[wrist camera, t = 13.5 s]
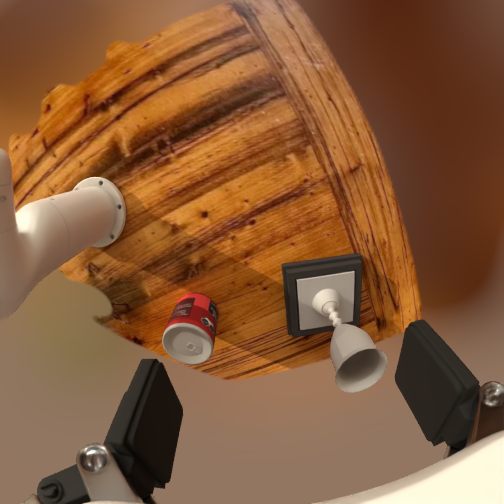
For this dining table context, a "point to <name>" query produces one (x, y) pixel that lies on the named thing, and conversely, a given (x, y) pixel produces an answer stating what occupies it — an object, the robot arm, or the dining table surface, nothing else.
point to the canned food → (191, 329)
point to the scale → (314, 269)
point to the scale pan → (315, 284)
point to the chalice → (350, 348)
